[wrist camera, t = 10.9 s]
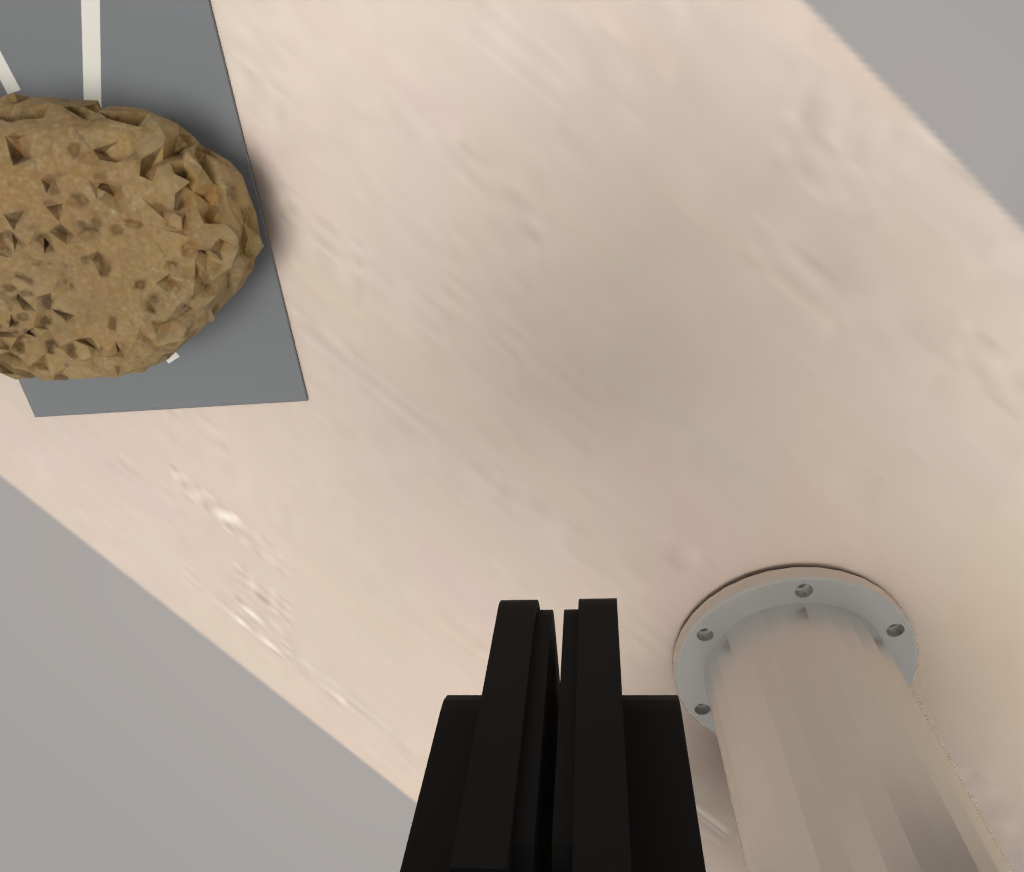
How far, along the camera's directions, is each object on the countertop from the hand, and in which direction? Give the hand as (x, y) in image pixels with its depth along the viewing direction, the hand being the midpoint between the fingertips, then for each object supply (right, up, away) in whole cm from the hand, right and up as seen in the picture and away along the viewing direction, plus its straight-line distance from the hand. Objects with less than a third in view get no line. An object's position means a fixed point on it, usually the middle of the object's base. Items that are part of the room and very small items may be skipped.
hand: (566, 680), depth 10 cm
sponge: (-21, +13, +20) cm, 32 cm away
